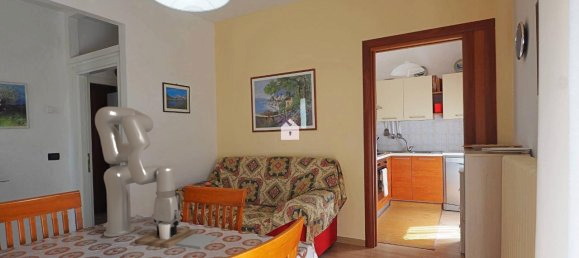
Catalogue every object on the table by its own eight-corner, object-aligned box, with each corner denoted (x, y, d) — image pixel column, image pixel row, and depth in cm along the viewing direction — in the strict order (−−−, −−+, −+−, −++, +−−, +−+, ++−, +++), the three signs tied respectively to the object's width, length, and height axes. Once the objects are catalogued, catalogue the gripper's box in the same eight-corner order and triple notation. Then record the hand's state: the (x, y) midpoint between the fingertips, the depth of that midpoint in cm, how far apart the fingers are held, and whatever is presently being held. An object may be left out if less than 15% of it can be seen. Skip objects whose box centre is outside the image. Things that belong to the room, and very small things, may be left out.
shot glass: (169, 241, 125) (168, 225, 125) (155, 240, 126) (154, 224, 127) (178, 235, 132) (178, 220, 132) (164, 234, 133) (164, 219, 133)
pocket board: (134, 243, 124) (134, 240, 124) (165, 229, 141) (165, 226, 141) (168, 248, 118) (168, 244, 118) (196, 233, 135) (196, 229, 135)
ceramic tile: (175, 245, 120) (175, 243, 120) (194, 235, 132) (194, 233, 132) (200, 248, 116) (200, 246, 116) (217, 237, 128) (217, 236, 128)
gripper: (144, 195, 129) (144, 235, 128) (176, 197, 123) (177, 239, 123) (156, 191, 136) (157, 230, 136) (187, 193, 130) (188, 233, 130)
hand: (166, 234), depth 129 cm, fingers closed on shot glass, 6 cm apart
